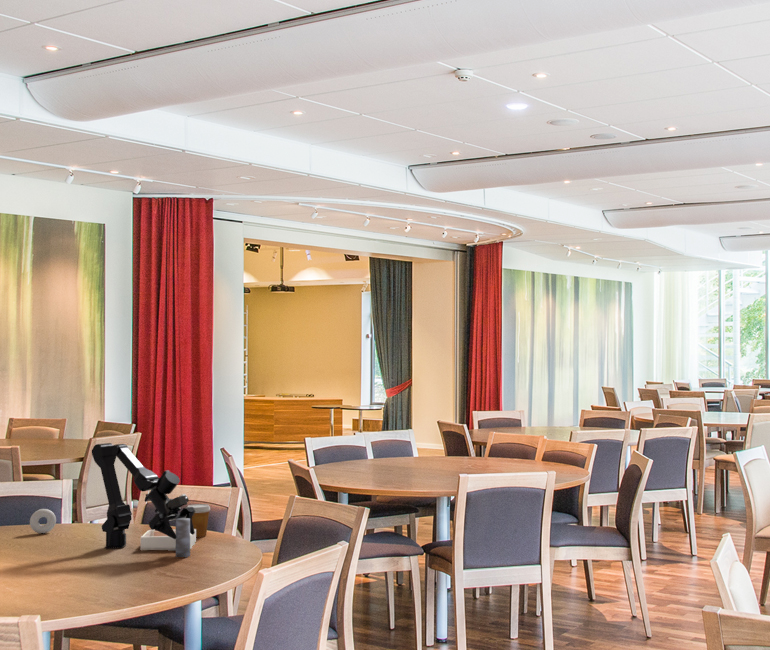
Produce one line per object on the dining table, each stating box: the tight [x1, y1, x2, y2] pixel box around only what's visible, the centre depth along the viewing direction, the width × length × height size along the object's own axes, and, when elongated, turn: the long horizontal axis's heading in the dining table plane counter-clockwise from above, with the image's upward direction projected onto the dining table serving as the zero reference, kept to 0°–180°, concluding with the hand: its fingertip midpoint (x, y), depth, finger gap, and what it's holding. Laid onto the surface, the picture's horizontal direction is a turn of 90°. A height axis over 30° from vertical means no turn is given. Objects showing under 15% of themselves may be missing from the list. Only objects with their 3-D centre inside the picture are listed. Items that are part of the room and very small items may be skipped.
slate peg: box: [175, 518, 191, 558], centre depth 300 cm, size 5×5×13 cm
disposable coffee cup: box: [186, 503, 212, 538], centre depth 336 cm, size 10×10×12 cm
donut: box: [29, 508, 57, 534], centre depth 343 cm, size 10×4×10 cm, turn 113°
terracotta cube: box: [154, 531, 167, 536], centre depth 316 cm, size 5×5×5 cm
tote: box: [140, 528, 197, 551], centre depth 317 cm, size 18×14×5 cm
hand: (184, 536), depth 300 cm, fingers open, 9 cm apart
